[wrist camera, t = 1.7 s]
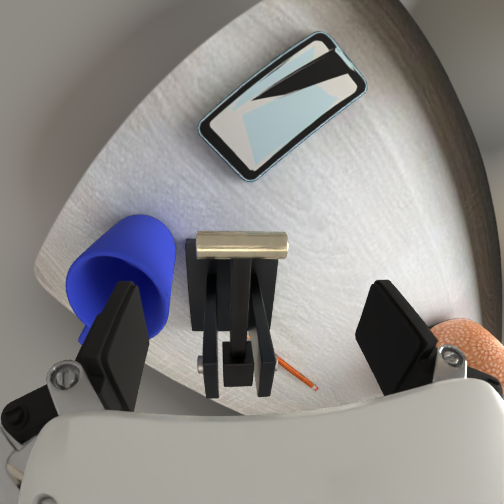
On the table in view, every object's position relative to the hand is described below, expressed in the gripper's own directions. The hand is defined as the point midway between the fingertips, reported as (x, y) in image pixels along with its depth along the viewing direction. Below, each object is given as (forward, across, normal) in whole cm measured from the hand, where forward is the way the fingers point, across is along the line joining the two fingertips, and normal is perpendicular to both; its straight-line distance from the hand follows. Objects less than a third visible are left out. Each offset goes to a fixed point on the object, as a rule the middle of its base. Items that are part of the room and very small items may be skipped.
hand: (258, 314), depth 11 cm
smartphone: (+17, -4, -9) cm, 20 cm away
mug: (+17, +10, +6) cm, 21 cm away
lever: (+7, 0, +5) cm, 9 cm away
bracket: (+17, 0, +10) cm, 20 cm away
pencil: (+17, -7, +23) cm, 30 cm away
